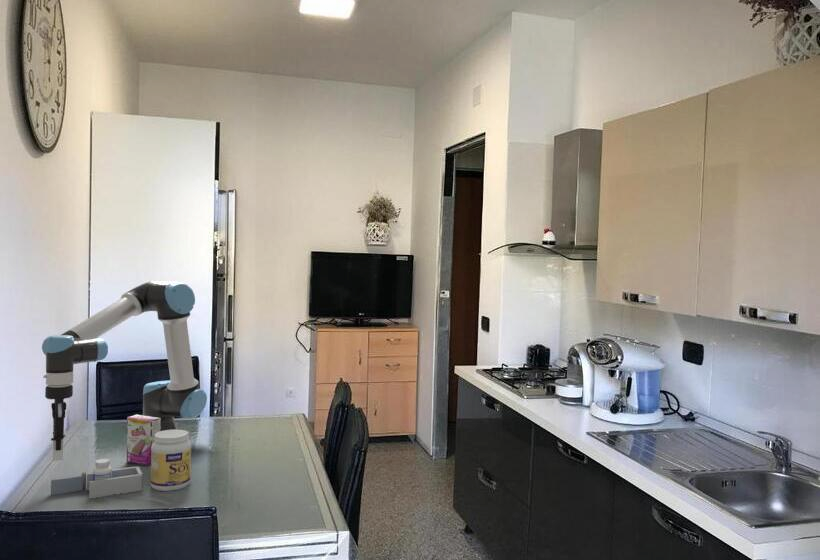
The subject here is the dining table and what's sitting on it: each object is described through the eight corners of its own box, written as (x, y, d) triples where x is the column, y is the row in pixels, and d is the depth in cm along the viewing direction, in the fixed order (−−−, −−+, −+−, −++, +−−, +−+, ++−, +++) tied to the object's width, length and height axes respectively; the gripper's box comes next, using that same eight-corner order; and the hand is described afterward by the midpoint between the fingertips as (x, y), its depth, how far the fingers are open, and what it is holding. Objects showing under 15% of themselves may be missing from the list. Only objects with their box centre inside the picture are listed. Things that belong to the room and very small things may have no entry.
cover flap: (86, 489, 196) (86, 473, 196) (50, 495, 191) (51, 478, 191) (85, 488, 197) (86, 472, 197) (50, 494, 192) (50, 477, 192)
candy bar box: (125, 462, 222) (126, 417, 222) (136, 458, 227) (136, 413, 226) (151, 467, 218) (151, 420, 218) (161, 462, 223) (161, 417, 223)
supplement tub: (166, 495, 193) (167, 441, 193) (142, 486, 200) (142, 434, 199) (198, 483, 204) (199, 432, 203) (174, 476, 210) (175, 426, 210)
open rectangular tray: (138, 481, 205) (138, 466, 204) (142, 490, 197) (143, 474, 197) (86, 489, 197) (86, 473, 196) (89, 498, 189) (89, 482, 189)
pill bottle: (97, 488, 198) (97, 457, 197) (114, 488, 198) (115, 457, 198) (89, 494, 192) (90, 463, 192) (107, 494, 193) (108, 463, 192)
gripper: (44, 382, 200) (43, 455, 200) (46, 389, 189) (44, 467, 189) (71, 380, 204) (69, 452, 204) (74, 387, 193) (72, 463, 193)
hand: (57, 459), depth 197 cm, fingers closed
